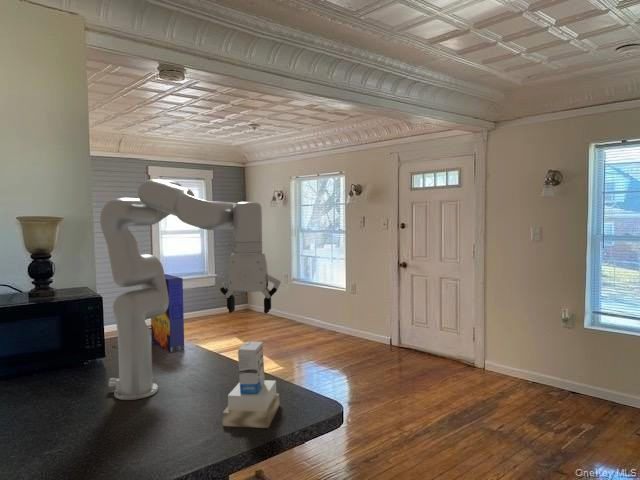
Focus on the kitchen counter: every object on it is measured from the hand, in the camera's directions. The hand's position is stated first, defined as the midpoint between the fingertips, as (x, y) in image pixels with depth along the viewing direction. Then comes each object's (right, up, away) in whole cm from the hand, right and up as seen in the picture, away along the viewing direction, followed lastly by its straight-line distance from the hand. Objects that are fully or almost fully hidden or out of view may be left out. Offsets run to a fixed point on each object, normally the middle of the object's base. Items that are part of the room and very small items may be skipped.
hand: (249, 312), depth 124 cm
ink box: (+1, -21, +1) cm, 21 cm away
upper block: (+1, -25, +2) cm, 25 cm away
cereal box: (-46, -26, +72) cm, 89 cm away
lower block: (+1, -29, +1) cm, 29 cm away
